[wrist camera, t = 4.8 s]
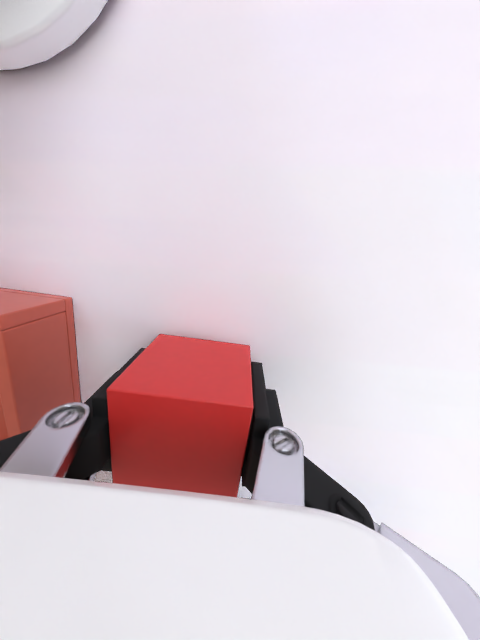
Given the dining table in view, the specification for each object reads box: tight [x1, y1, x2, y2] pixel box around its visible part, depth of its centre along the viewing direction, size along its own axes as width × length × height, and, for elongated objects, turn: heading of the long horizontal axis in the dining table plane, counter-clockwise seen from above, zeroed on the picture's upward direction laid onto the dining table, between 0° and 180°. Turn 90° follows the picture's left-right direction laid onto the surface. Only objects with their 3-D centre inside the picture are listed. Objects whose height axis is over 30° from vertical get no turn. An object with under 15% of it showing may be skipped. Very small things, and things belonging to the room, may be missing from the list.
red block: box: [107, 334, 253, 497], centre depth 10 cm, size 4×4×4 cm
